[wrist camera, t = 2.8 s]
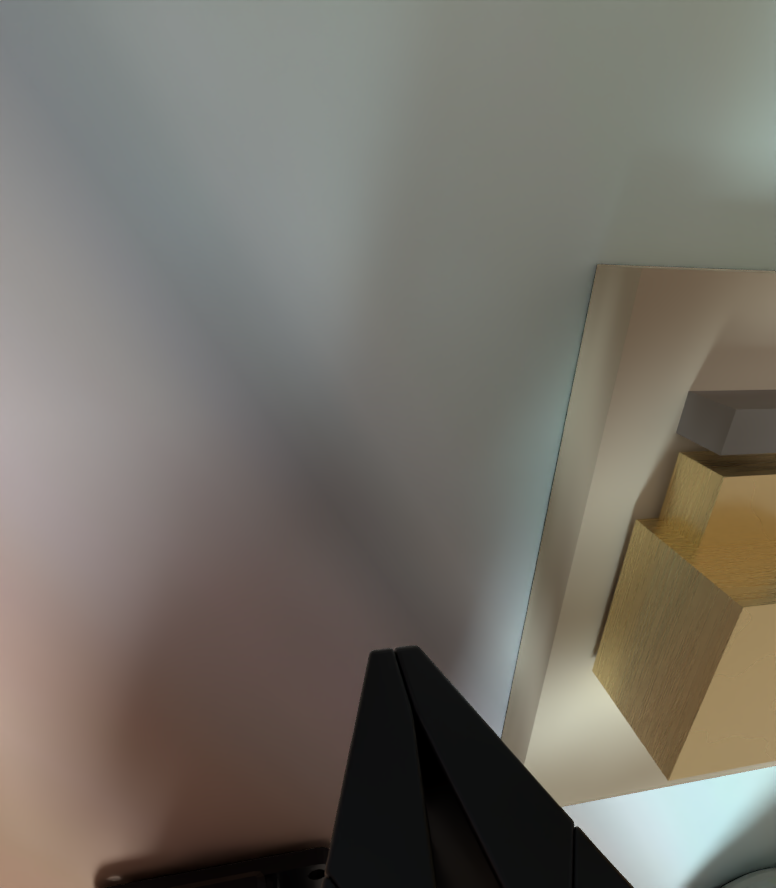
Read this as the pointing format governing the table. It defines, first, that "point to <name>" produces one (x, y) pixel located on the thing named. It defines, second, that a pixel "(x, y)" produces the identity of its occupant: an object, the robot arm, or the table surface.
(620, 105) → the table surface
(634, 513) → the plate
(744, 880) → the grey rounded container
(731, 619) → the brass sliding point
